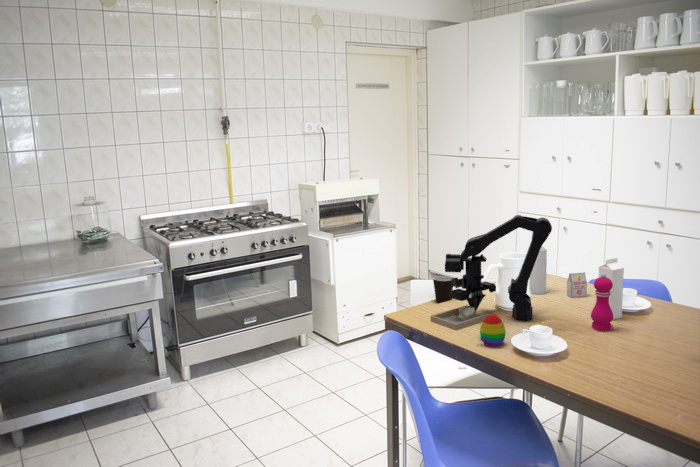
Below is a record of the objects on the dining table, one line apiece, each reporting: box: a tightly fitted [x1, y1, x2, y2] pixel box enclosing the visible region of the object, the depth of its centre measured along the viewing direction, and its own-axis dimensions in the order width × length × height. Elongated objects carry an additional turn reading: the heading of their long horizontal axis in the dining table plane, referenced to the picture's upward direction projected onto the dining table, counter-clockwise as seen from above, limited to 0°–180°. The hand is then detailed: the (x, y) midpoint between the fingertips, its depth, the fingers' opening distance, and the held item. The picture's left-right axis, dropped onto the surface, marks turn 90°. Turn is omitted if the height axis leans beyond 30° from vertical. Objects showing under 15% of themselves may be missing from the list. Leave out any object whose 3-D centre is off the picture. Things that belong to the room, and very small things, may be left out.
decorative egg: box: [479, 314, 506, 347], centre depth 191 cm, size 8×8×10 cm
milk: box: [598, 257, 625, 321], centre depth 210 cm, size 6×6×22 cm
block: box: [458, 304, 476, 320], centre depth 213 cm, size 4×4×4 cm
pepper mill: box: [590, 273, 614, 332], centre depth 199 cm, size 7×7×20 cm
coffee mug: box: [432, 275, 454, 304], centre depth 239 cm, size 12×9×10 cm
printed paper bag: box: [566, 272, 588, 299], centre depth 238 cm, size 4×7×10 cm, turn 97°
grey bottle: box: [529, 245, 548, 296], centre depth 244 cm, size 7×7×25 cm
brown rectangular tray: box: [430, 307, 490, 331], centre depth 211 cm, size 13×17×4 cm
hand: (473, 312), depth 215 cm, fingers closed
